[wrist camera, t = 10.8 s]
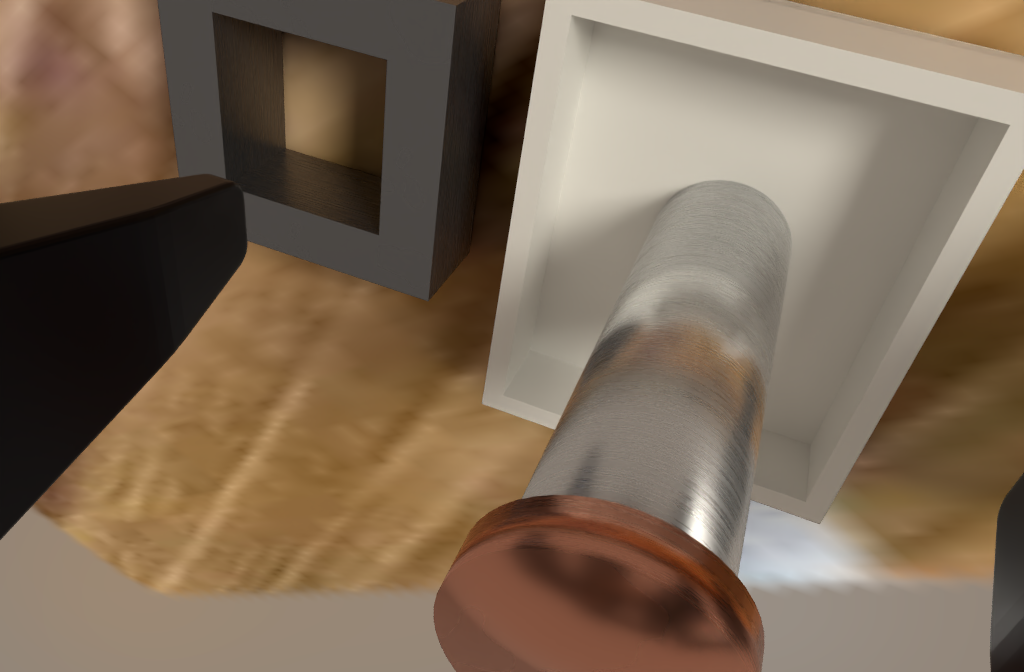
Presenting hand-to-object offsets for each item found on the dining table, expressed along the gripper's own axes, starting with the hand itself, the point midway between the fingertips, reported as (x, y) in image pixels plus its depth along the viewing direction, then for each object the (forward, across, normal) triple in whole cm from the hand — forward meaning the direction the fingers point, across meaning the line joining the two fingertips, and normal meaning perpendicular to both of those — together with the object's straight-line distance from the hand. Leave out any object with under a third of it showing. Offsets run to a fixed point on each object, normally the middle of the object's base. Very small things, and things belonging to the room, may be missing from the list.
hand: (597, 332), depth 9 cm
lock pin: (+12, -1, +5) cm, 13 cm away
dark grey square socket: (+13, +10, +4) cm, 17 cm away
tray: (+13, -1, +5) cm, 14 cm away
